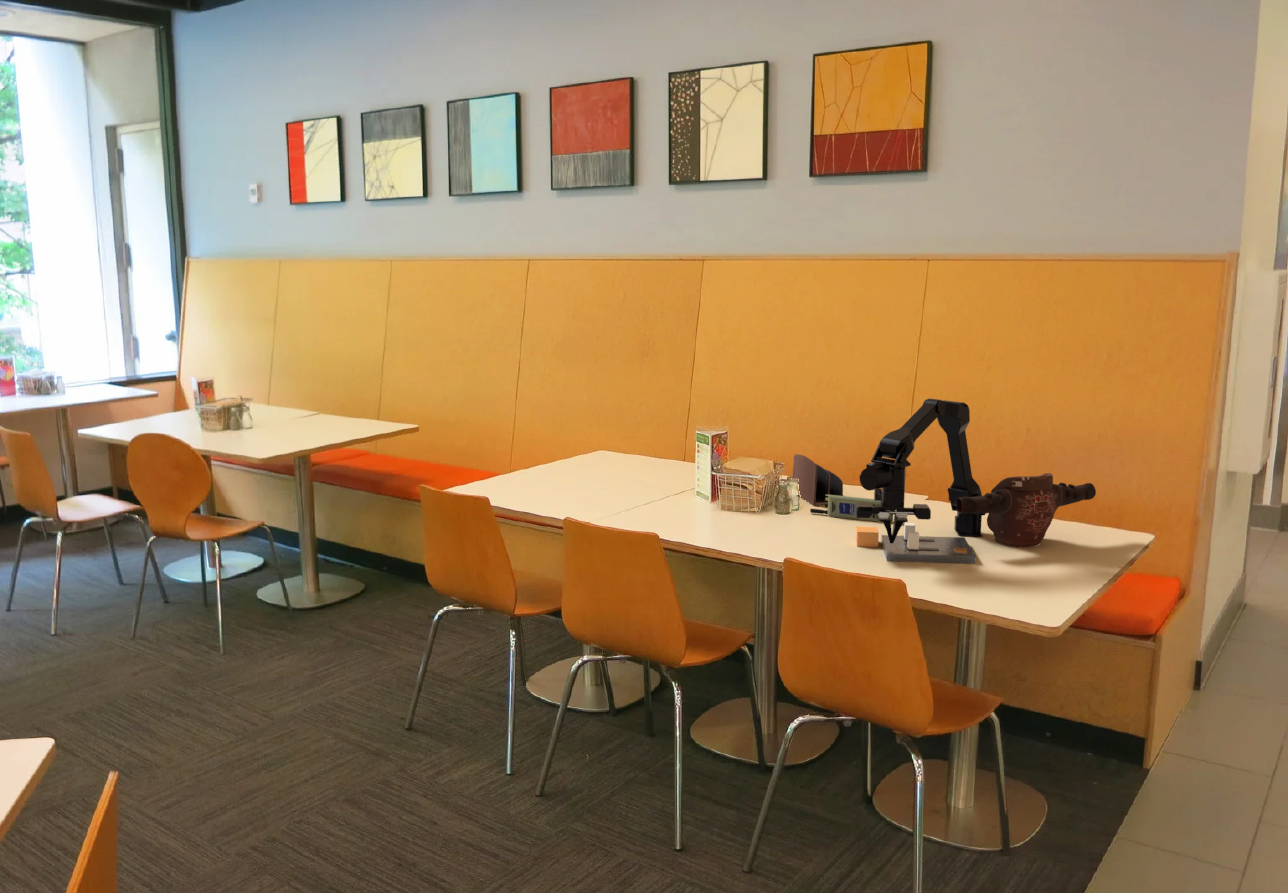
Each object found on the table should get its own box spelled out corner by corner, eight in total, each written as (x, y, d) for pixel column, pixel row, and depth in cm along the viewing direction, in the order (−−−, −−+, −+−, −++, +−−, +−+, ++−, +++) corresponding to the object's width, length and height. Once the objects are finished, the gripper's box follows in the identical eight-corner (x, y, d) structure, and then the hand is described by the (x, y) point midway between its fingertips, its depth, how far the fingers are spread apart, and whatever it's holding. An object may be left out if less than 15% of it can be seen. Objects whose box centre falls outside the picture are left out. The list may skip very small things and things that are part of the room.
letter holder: (813, 506, 330) (814, 462, 327) (791, 493, 349) (792, 451, 346) (843, 505, 332) (844, 461, 329) (819, 491, 351) (820, 449, 348)
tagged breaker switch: (917, 546, 275) (918, 531, 274) (918, 549, 272) (919, 534, 272) (907, 546, 275) (907, 531, 275) (908, 549, 273) (908, 534, 272)
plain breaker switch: (913, 537, 284) (914, 523, 283) (914, 540, 281) (915, 525, 281) (903, 537, 284) (904, 522, 283) (904, 539, 282) (905, 525, 281)
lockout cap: (876, 541, 289) (877, 527, 288) (878, 546, 283) (878, 532, 283) (855, 540, 290) (856, 526, 289) (857, 546, 284) (857, 531, 284)
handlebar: (1071, 530, 299) (1075, 461, 295) (1105, 541, 287) (1110, 469, 284) (940, 546, 283) (943, 474, 279) (970, 559, 271) (974, 483, 268)
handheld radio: (891, 524, 308) (808, 515, 319) (893, 522, 311) (811, 513, 322) (892, 502, 307) (809, 494, 318) (894, 500, 310) (812, 492, 321)
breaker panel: (964, 544, 285) (964, 536, 284) (975, 563, 267) (975, 555, 267) (881, 542, 288) (881, 534, 288) (886, 560, 270) (887, 552, 270)
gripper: (926, 478, 278) (924, 535, 281) (855, 477, 281) (853, 533, 284) (932, 488, 267) (929, 547, 270) (857, 486, 270) (855, 545, 273)
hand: (891, 543), depth 275 cm, fingers closed
